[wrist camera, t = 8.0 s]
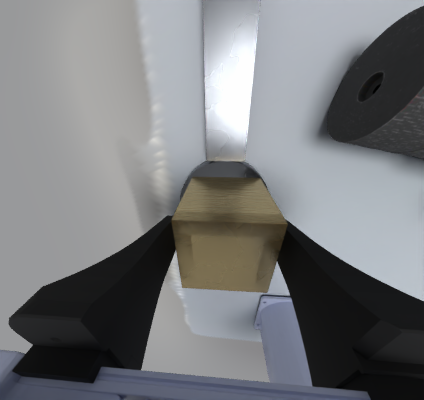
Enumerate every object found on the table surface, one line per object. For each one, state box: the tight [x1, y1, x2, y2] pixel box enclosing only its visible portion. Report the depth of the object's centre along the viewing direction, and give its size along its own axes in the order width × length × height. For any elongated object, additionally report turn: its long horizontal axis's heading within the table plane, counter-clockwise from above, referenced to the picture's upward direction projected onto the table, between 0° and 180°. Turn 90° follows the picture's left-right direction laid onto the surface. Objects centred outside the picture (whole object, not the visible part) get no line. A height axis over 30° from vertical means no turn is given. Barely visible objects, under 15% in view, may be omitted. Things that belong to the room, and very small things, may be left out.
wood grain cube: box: [171, 177, 288, 293], centre depth 11 cm, size 6×6×6 cm
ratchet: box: [180, 0, 269, 201], centre depth 10 cm, size 22×8×5 cm, turn 0°
